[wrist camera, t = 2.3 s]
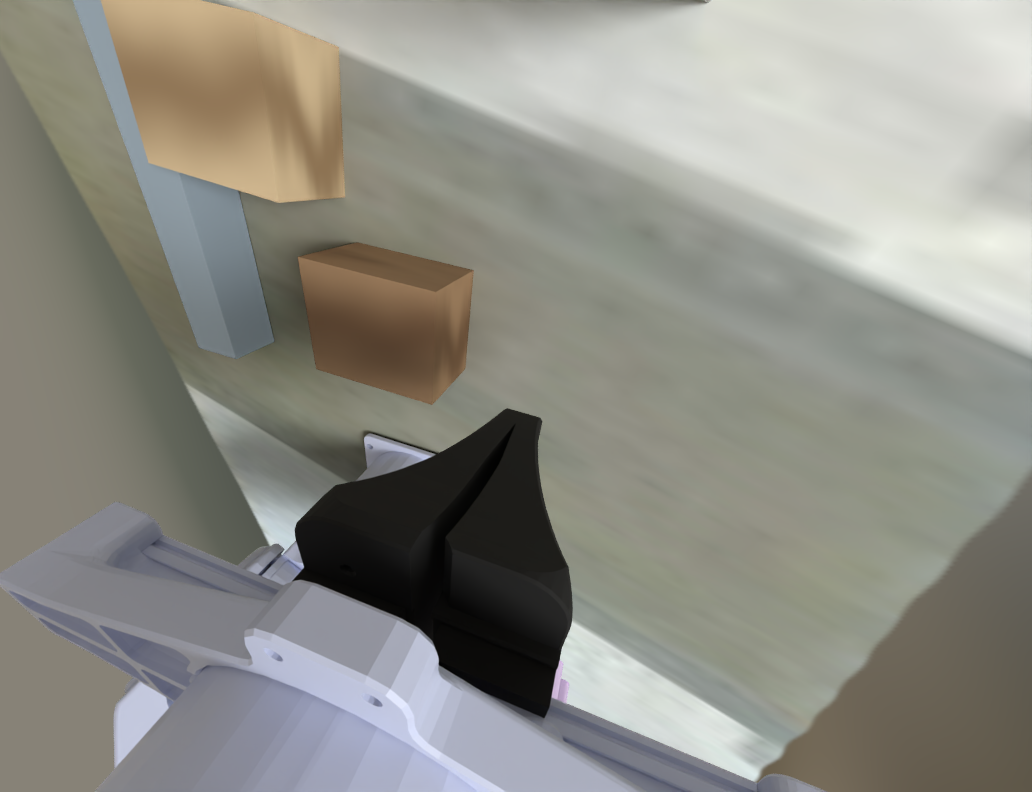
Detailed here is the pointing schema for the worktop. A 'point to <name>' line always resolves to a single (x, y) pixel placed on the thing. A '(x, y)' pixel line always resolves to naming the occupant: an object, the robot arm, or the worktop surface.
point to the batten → (190, 224)
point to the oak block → (232, 97)
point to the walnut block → (387, 318)
